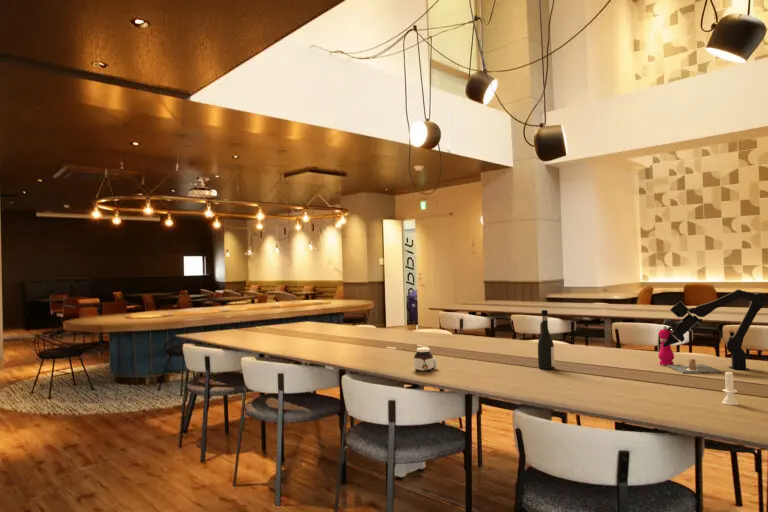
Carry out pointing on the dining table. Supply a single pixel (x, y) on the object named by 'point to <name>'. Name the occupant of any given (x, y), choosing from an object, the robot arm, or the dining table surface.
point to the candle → (729, 389)
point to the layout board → (700, 367)
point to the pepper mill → (665, 348)
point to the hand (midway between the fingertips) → (662, 345)
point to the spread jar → (424, 360)
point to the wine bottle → (545, 345)
